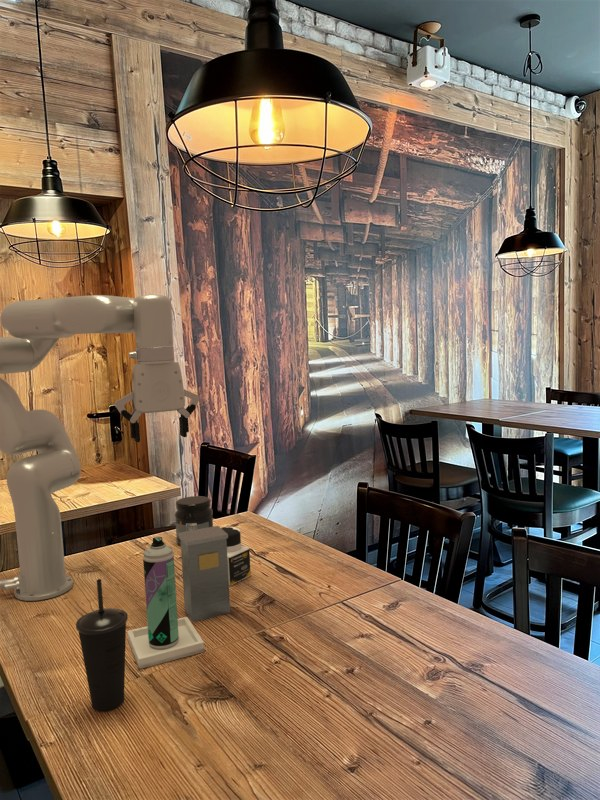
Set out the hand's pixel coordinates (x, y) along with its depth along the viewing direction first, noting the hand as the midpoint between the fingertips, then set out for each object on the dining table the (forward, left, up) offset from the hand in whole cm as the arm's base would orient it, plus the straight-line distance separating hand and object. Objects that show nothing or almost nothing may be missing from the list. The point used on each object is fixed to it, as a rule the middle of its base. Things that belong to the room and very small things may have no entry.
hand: (160, 438), depth 123 cm
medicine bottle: (+16, +8, -36) cm, 41 cm away
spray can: (-5, -16, -36) cm, 40 cm away
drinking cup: (-17, -29, -36) cm, 50 cm away
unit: (+6, -6, -36) cm, 37 cm away
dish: (-5, -16, -36) cm, 40 cm away
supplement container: (+16, +38, -36) cm, 55 cm away
